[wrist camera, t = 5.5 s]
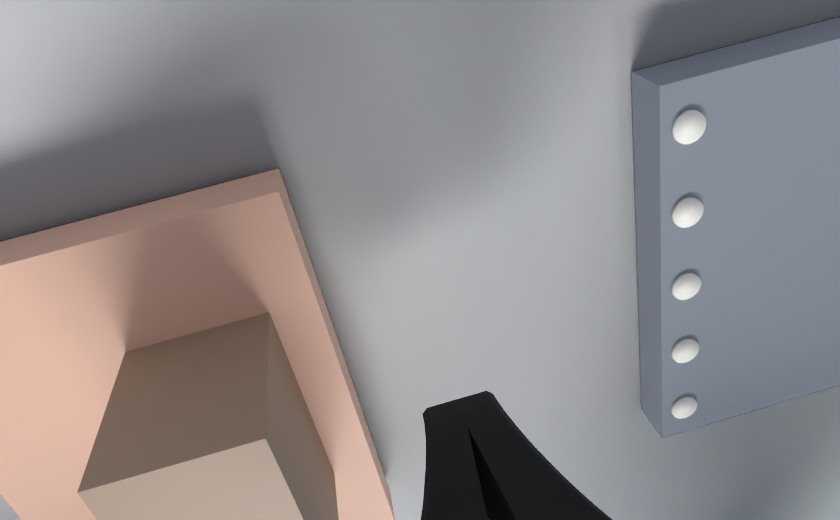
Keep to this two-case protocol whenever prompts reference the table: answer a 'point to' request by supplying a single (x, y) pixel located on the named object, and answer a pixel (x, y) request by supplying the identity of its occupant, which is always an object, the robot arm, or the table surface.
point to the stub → (179, 369)
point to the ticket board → (738, 226)
